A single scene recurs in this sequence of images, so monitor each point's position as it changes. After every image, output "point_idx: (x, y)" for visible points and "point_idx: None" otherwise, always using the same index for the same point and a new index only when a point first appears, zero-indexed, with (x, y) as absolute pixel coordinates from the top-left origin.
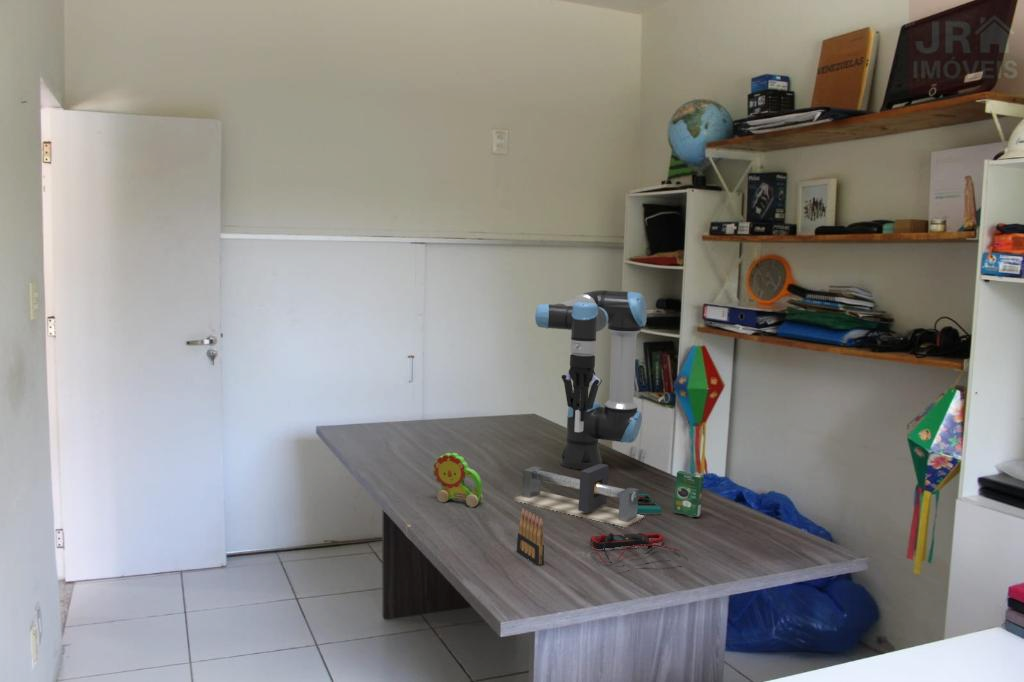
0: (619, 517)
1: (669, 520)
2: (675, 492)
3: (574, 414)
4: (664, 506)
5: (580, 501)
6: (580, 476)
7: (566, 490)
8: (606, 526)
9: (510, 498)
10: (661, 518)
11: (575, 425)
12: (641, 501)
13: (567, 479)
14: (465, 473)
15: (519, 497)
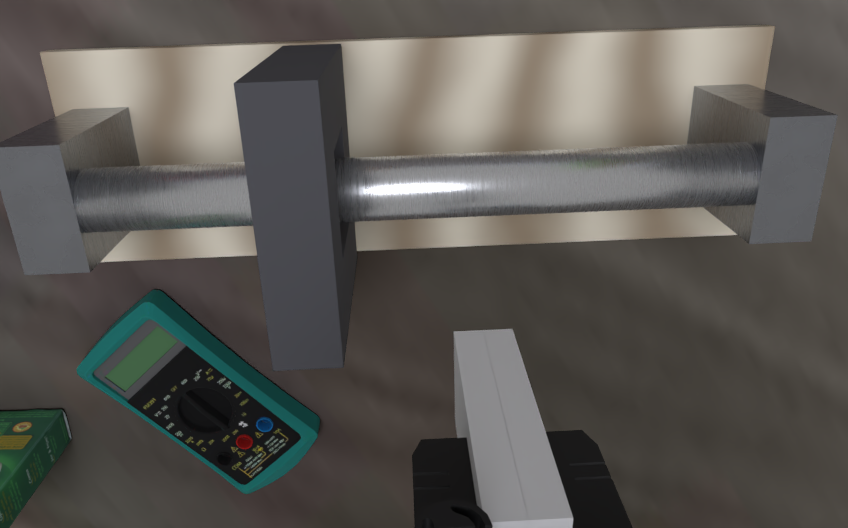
0: (117, 110)
1: (8, 316)
2: (8, 474)
3: (588, 488)
4: (155, 461)
5: (325, 50)
6: (319, 73)
7: (618, 361)
8: (142, 12)
9: (801, 51)
10: (51, 316)
11: (514, 370)
12: (224, 414)
13: (495, 166)
14: None
15: (750, 55)
